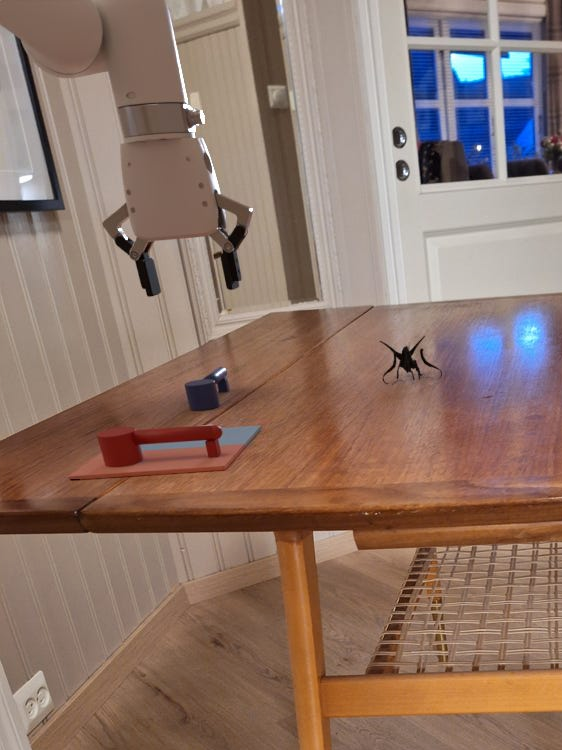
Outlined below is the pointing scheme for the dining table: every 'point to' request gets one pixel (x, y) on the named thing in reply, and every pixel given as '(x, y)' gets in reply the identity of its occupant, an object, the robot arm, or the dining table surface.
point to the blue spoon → (207, 390)
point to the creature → (407, 361)
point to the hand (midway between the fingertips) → (193, 291)
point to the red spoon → (152, 441)
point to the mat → (175, 457)
